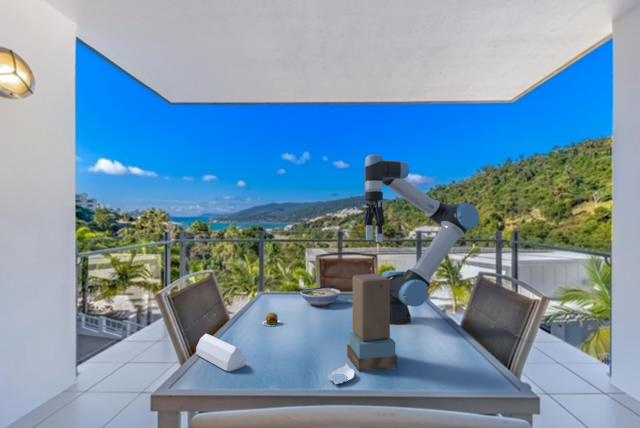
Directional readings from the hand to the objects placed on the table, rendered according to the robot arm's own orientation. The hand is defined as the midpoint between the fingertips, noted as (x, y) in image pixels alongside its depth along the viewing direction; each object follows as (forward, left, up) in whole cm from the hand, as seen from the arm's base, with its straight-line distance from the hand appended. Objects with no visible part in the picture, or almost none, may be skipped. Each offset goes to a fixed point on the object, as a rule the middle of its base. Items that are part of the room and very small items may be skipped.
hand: (374, 240), depth 151 cm
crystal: (+62, +21, -39) cm, 76 cm away
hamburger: (+43, -18, -40) cm, 61 cm away
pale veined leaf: (+24, +41, -39) cm, 62 cm away
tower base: (+11, +31, -39) cm, 51 cm away
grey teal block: (+11, +31, -35) cm, 48 cm away
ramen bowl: (+15, -50, -39) cm, 65 cm away
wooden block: (+11, +30, -30) cm, 44 cm away
